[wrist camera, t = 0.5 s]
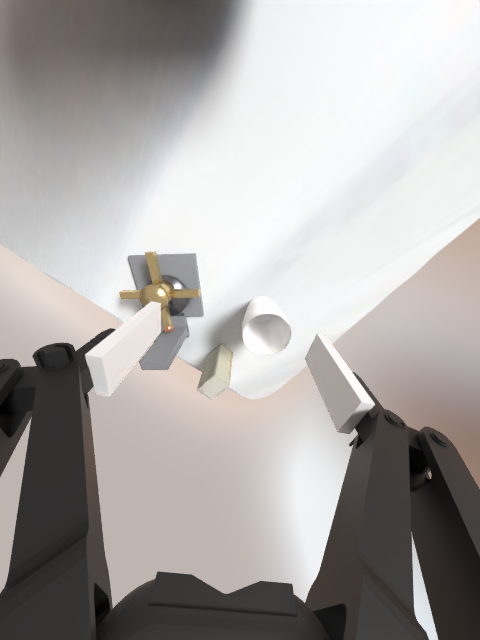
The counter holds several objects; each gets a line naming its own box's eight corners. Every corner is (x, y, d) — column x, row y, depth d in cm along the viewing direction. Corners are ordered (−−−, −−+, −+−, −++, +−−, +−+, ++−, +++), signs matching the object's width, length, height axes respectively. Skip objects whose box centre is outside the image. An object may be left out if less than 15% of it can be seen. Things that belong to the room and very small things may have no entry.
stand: (130, 255, 38) (74, 267, 25) (195, 253, 37) (170, 265, 25) (154, 337, 47) (121, 376, 35) (206, 336, 47) (192, 375, 34)
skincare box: (218, 364, 51) (211, 400, 40) (206, 355, 49) (195, 390, 39) (233, 351, 49) (230, 386, 38) (221, 342, 47) (214, 375, 36)
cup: (247, 328, 45) (247, 359, 35) (238, 295, 41) (236, 318, 31) (282, 321, 44) (294, 351, 33) (277, 287, 40) (288, 307, 30)
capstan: (120, 251, 36) (95, 255, 30) (198, 248, 36) (188, 252, 30) (143, 325, 44) (127, 340, 38) (207, 324, 43) (201, 339, 37)
